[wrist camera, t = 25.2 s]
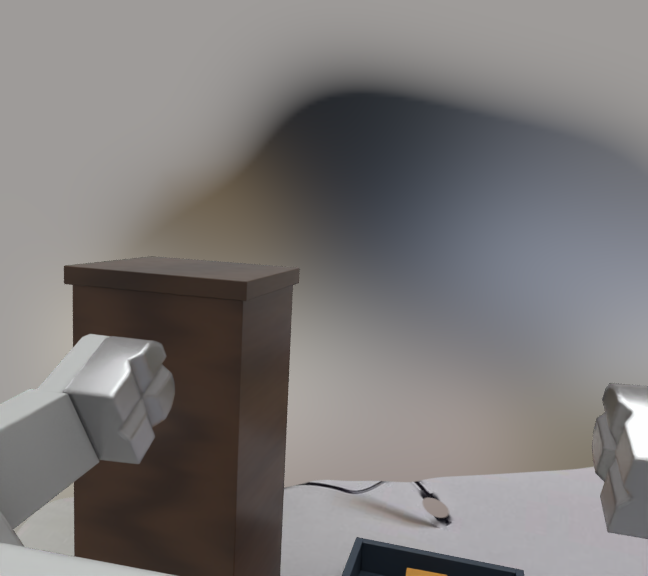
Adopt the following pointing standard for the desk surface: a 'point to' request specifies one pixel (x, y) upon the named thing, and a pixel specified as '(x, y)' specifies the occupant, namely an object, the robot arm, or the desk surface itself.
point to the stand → (193, 416)
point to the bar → (421, 573)
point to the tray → (414, 562)
